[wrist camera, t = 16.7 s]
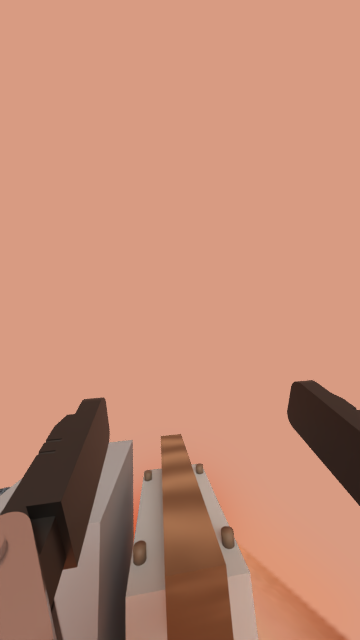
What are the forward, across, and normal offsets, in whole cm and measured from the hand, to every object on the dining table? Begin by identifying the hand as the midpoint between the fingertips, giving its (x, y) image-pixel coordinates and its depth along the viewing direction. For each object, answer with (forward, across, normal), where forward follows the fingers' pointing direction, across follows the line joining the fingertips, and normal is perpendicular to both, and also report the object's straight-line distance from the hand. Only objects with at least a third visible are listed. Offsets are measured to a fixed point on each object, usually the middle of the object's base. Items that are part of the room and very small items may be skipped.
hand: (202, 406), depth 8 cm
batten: (+11, 0, +24) cm, 26 cm away
